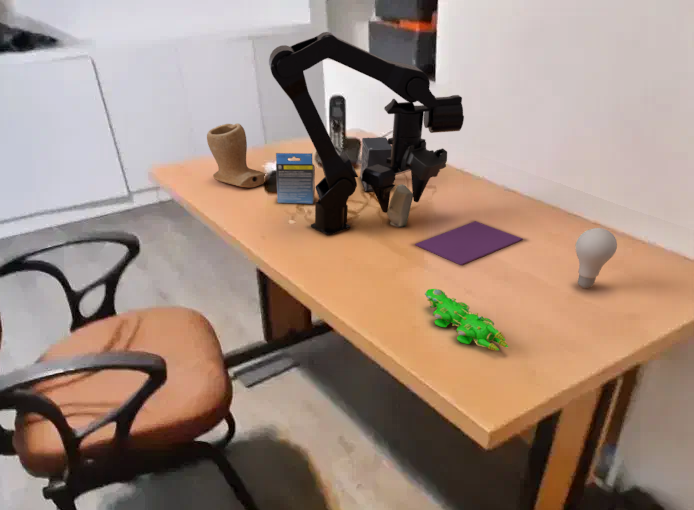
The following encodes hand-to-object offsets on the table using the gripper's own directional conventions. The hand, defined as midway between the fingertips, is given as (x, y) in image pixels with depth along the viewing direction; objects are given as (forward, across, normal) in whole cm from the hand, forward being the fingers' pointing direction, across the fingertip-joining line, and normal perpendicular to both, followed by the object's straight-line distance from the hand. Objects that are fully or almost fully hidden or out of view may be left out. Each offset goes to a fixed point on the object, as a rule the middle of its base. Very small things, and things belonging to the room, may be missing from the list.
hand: (400, 206), depth 136 cm
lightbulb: (+4, +4, -41) cm, 41 cm away
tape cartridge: (+4, -9, +26) cm, 28 cm away
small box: (+4, +13, +22) cm, 26 cm away
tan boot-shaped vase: (+4, -13, +47) cm, 49 cm away
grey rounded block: (+4, 0, 0) cm, 4 cm away
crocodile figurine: (+4, -23, -37) cm, 44 cm away
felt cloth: (+4, +4, -16) cm, 17 cm away
